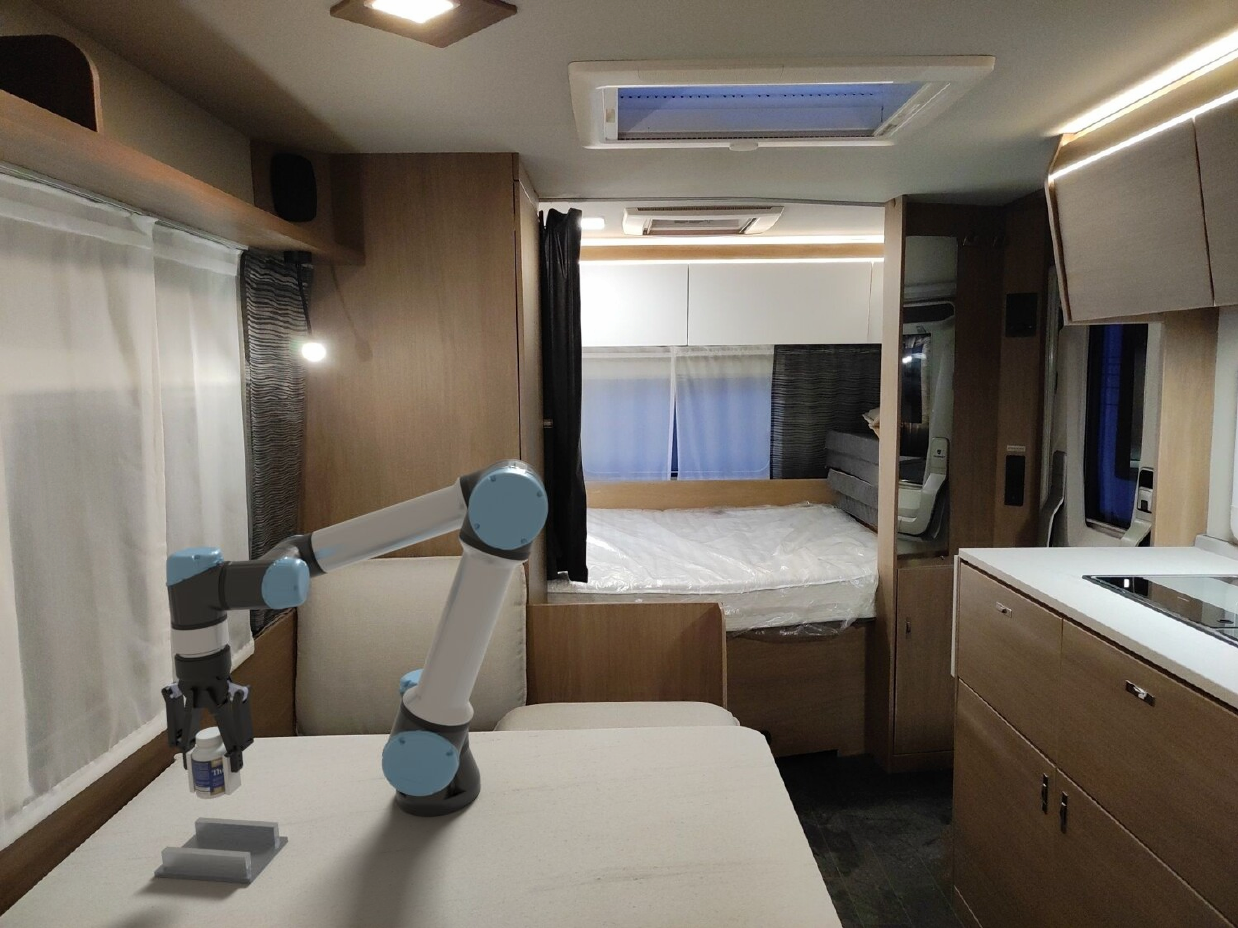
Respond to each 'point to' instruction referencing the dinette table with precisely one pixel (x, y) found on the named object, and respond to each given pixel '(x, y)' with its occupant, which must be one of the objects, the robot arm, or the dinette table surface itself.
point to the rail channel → (223, 851)
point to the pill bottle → (209, 764)
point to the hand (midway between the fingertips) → (215, 788)
